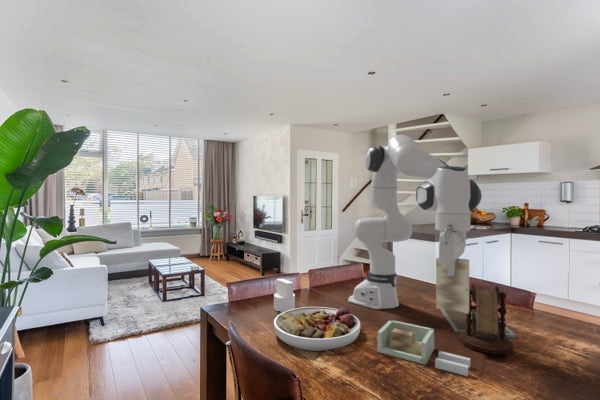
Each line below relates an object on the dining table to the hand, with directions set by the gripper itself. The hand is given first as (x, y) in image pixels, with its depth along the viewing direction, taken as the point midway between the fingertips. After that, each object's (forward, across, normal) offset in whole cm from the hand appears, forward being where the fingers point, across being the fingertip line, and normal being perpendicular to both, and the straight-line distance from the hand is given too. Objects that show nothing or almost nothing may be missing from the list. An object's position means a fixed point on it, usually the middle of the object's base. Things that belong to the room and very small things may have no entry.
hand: (452, 274), depth 90 cm
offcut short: (+22, +3, +14) cm, 27 cm away
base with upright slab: (+26, +15, +68) cm, 75 cm away
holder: (+27, 0, 0) cm, 27 cm away
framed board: (+27, +45, 0) cm, 53 cm away
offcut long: (+26, +3, +14) cm, 29 cm away
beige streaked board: (+10, 0, 0) cm, 10 cm away
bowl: (+27, 0, +44) cm, 51 cm away
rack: (+26, +3, +14) cm, 30 cm away
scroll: (+27, +21, -6) cm, 35 cm away
